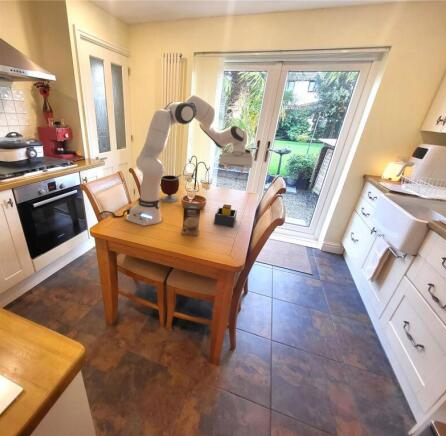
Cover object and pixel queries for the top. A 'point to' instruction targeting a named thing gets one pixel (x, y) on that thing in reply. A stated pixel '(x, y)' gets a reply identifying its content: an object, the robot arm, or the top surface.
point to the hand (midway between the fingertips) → (234, 171)
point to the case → (225, 218)
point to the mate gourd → (169, 187)
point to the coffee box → (191, 219)
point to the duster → (226, 210)
